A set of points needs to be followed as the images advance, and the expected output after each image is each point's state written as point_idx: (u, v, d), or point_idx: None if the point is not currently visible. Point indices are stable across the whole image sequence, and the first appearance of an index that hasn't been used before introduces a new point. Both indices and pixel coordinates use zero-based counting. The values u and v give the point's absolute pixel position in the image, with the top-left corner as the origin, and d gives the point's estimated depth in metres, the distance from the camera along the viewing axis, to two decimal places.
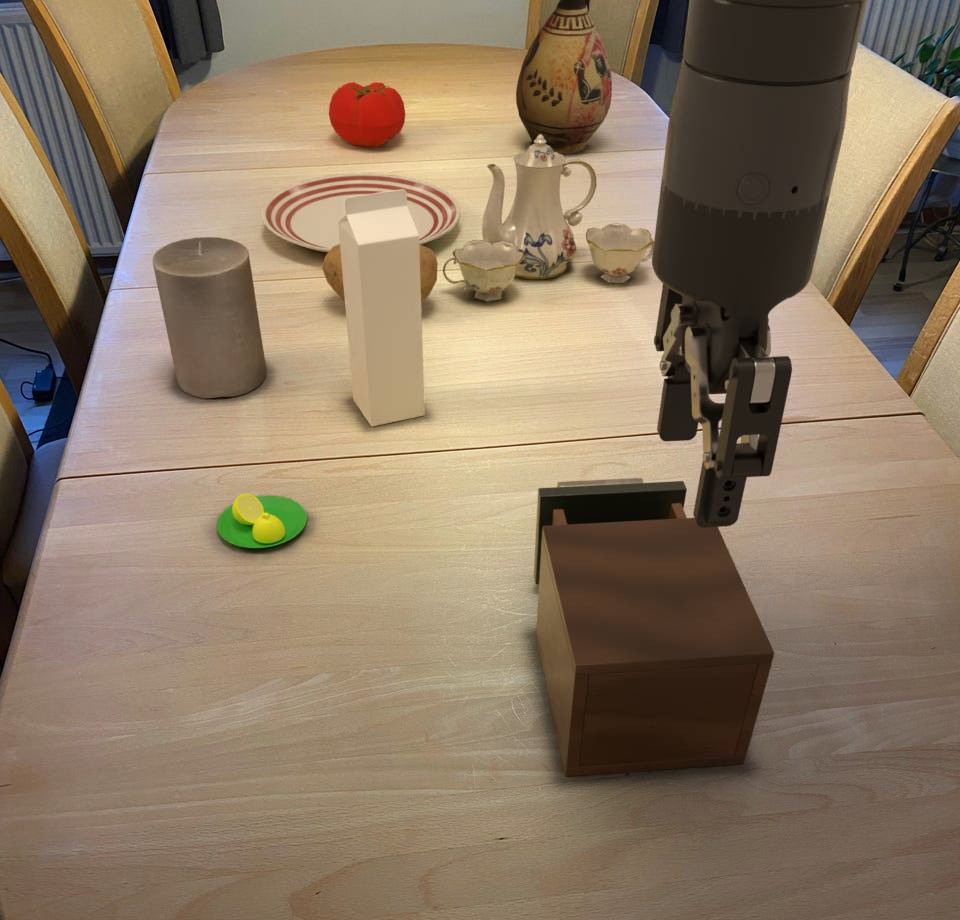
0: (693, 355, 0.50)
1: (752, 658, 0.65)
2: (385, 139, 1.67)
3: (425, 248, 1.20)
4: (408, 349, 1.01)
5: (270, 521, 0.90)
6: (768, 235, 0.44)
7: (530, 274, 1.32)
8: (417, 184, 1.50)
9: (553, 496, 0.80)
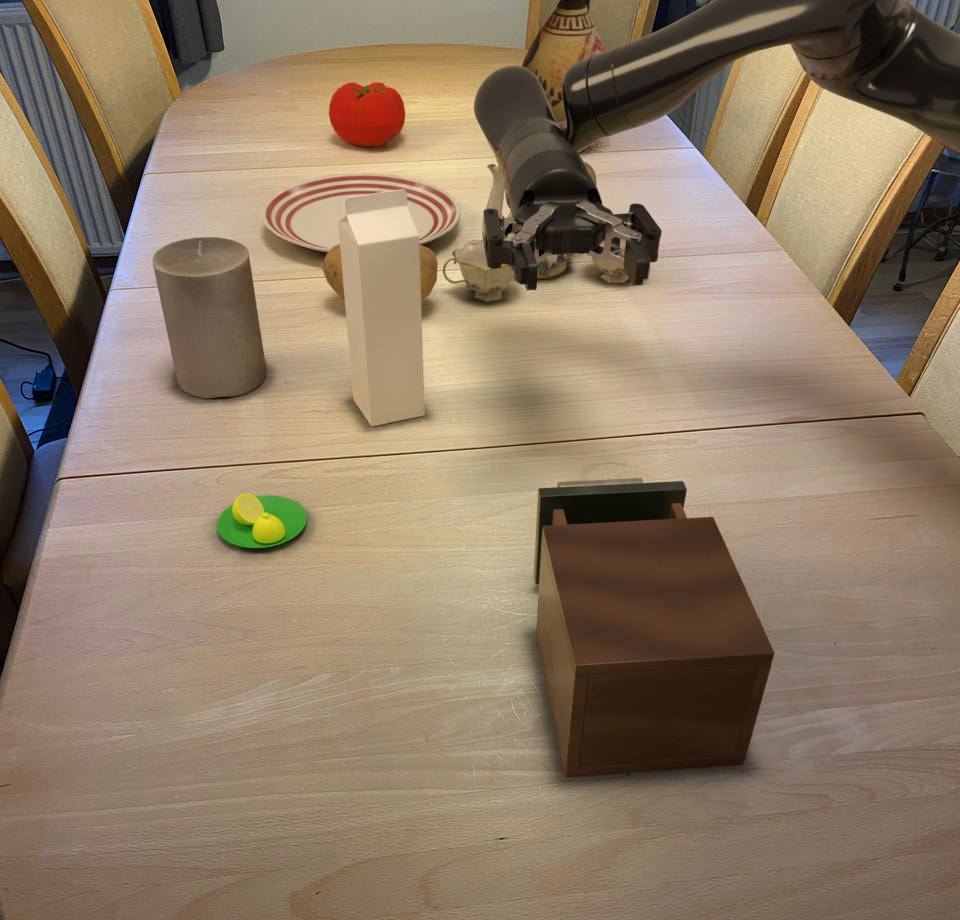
0: None
1: (752, 658, 0.65)
2: (385, 139, 1.67)
3: (425, 248, 1.21)
4: (408, 349, 1.01)
5: (270, 521, 0.90)
6: (510, 198, 0.90)
7: None
8: (417, 184, 1.50)
9: (553, 496, 0.80)
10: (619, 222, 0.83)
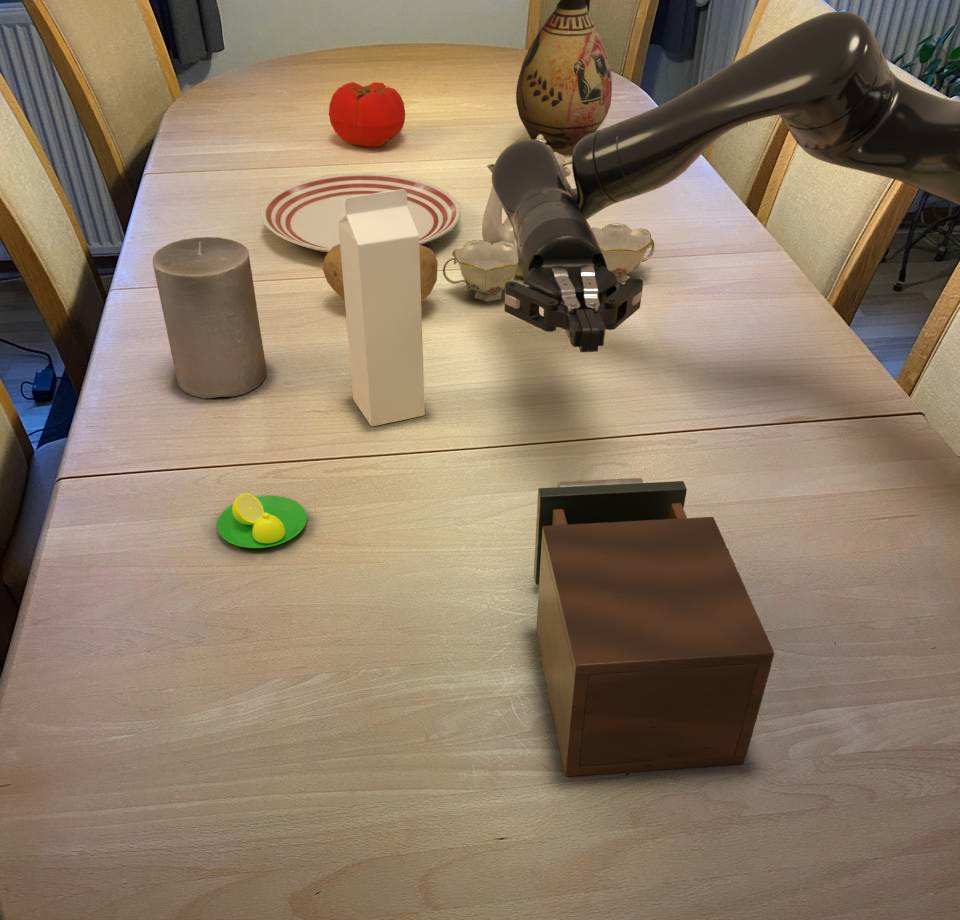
0: None
1: (752, 658, 0.65)
2: (385, 139, 1.67)
3: (425, 248, 1.21)
4: (408, 349, 1.01)
5: (270, 521, 0.90)
6: (521, 261, 0.96)
7: None
8: (417, 184, 1.50)
9: (553, 496, 0.80)
10: (594, 291, 0.88)
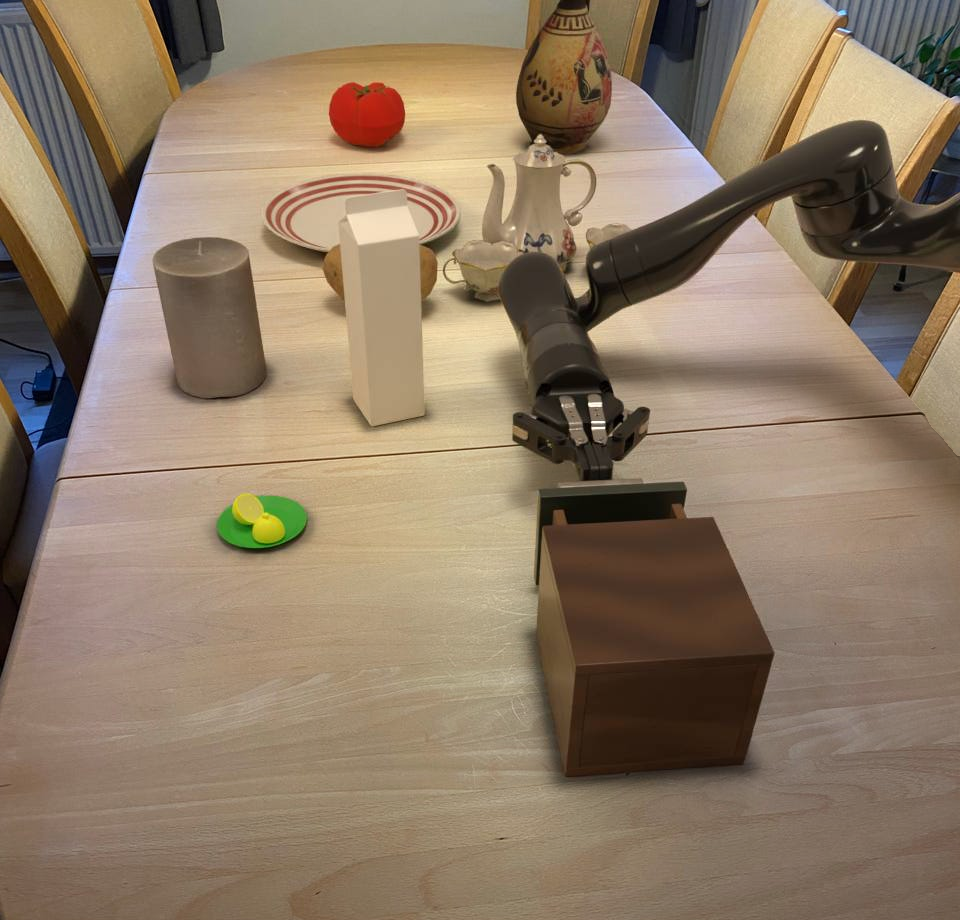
0: None
1: (752, 658, 0.65)
2: (385, 139, 1.67)
3: (425, 248, 1.21)
4: (408, 349, 1.01)
5: (270, 521, 0.90)
6: (528, 385, 0.97)
7: None
8: (417, 184, 1.50)
9: (553, 497, 0.80)
10: (601, 424, 0.89)
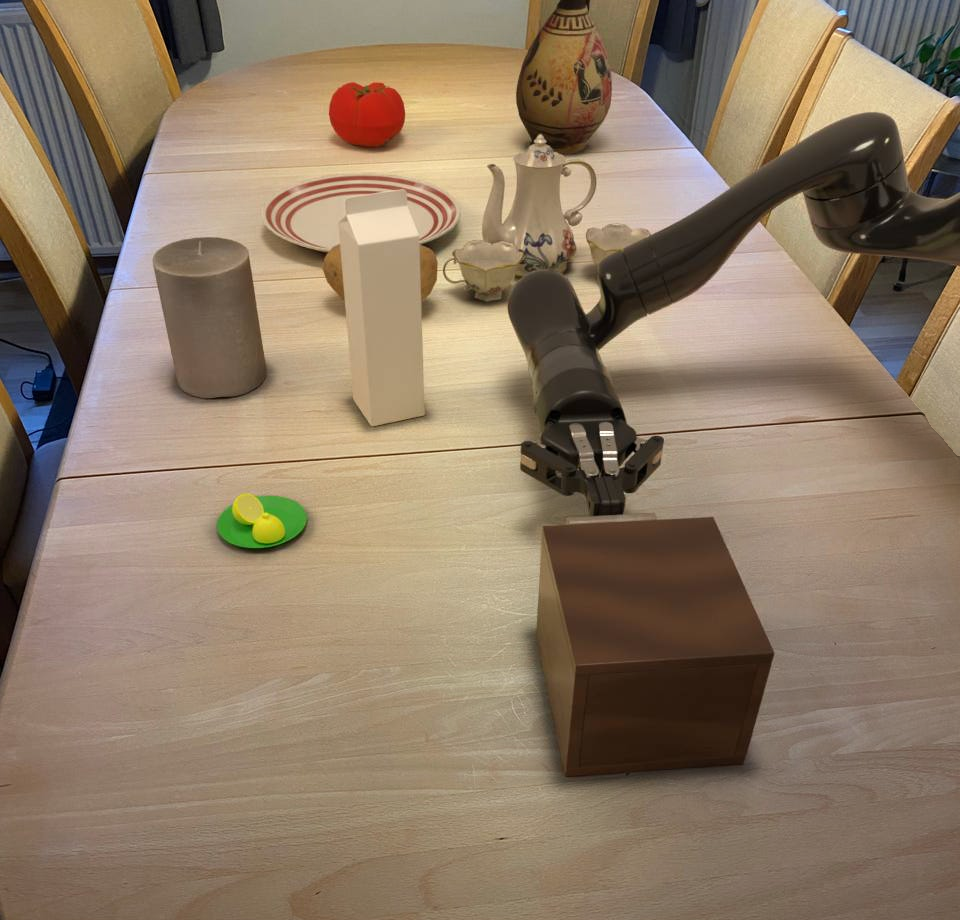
0: None
1: (752, 658, 0.65)
2: (385, 139, 1.67)
3: (425, 248, 1.21)
4: (408, 349, 1.01)
5: (270, 521, 0.90)
6: (537, 410, 0.93)
7: None
8: (417, 184, 1.50)
9: None
10: (613, 454, 0.85)
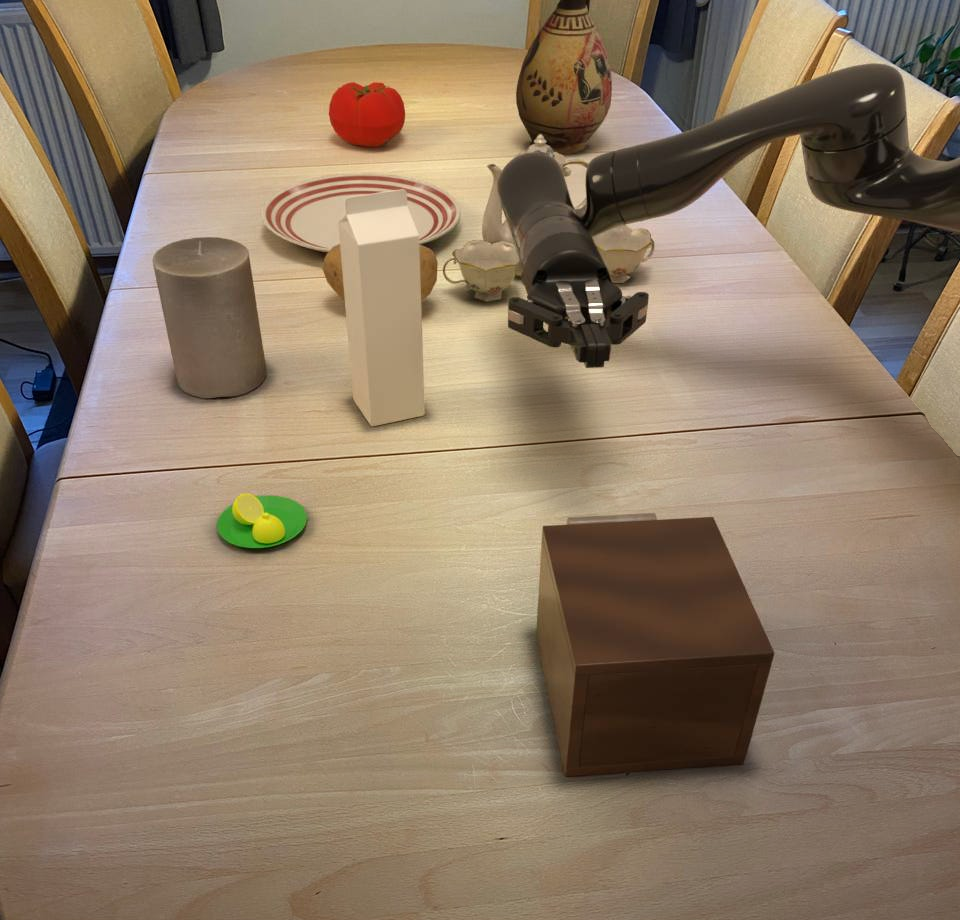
0: None
1: (752, 658, 0.65)
2: (385, 139, 1.67)
3: (425, 248, 1.21)
4: (408, 349, 1.01)
5: (270, 521, 0.90)
6: (524, 276, 0.95)
7: None
8: (417, 184, 1.50)
9: None
10: (599, 306, 0.87)
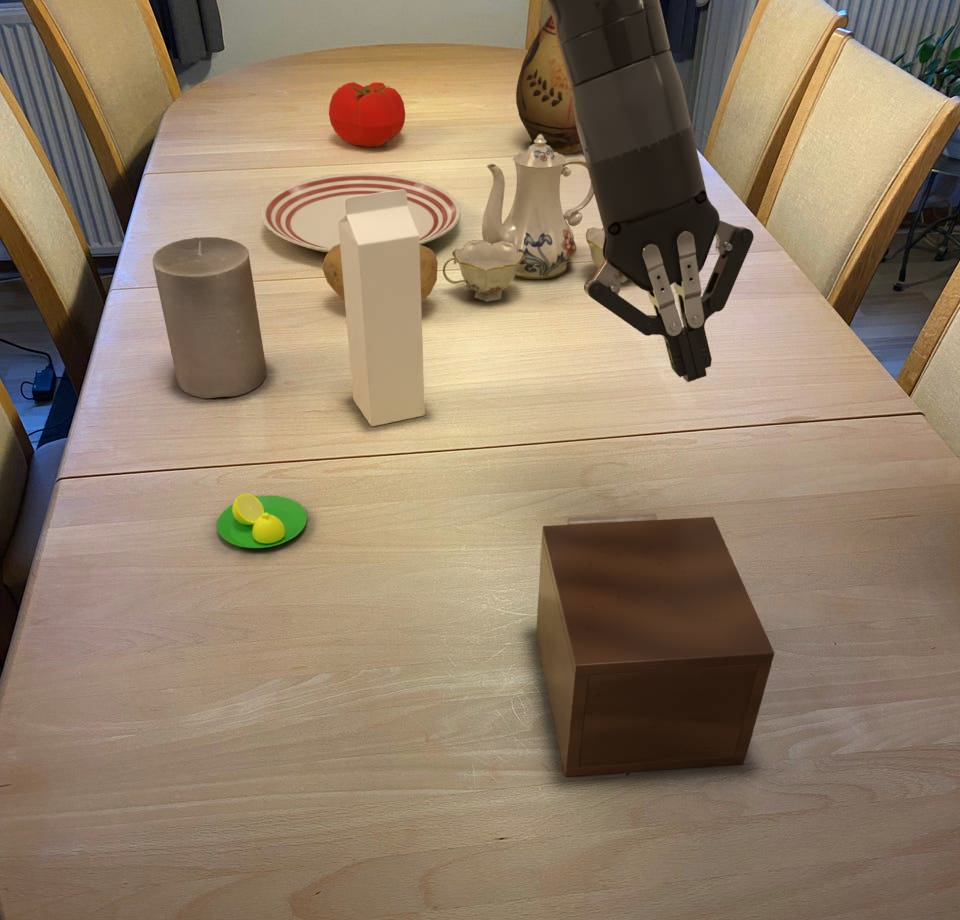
0: None
1: (752, 658, 0.65)
2: (385, 139, 1.67)
3: (425, 248, 1.21)
4: (408, 349, 1.01)
5: (270, 521, 0.90)
6: (590, 177, 0.72)
7: (530, 274, 1.32)
8: (417, 184, 1.50)
9: None
10: (696, 294, 0.75)
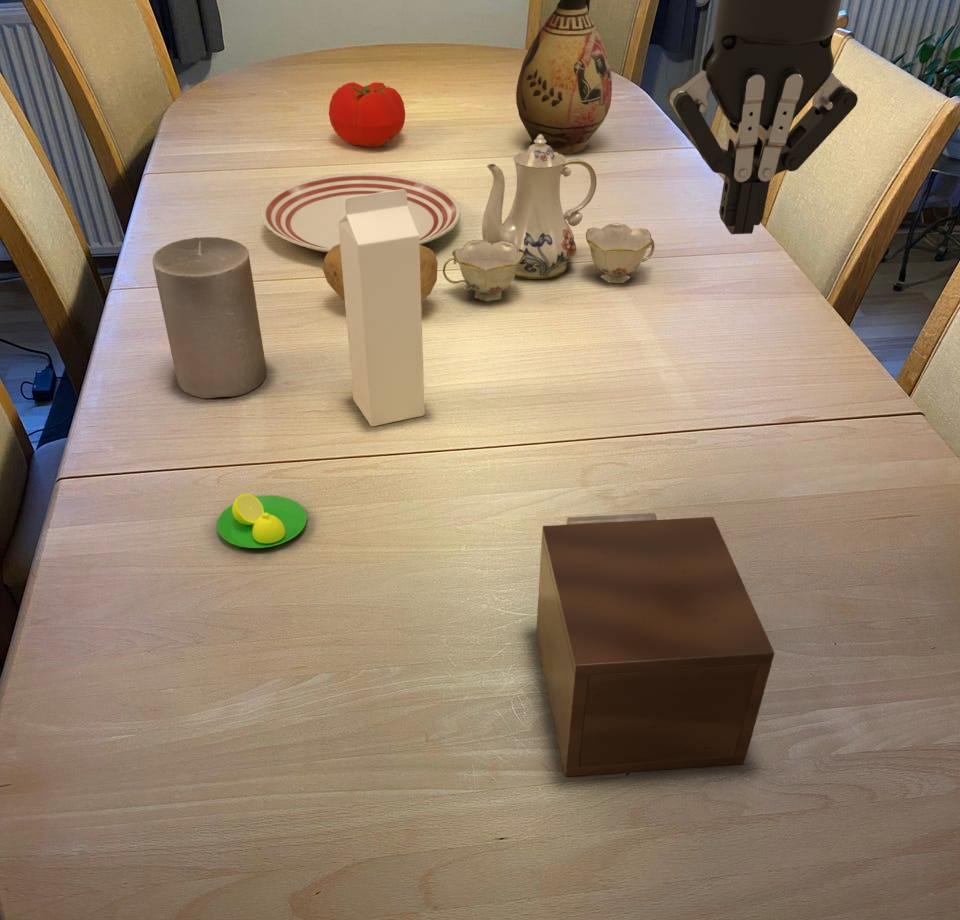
0: None
1: (752, 658, 0.65)
2: (385, 139, 1.67)
3: (425, 248, 1.21)
4: (408, 349, 1.01)
5: (270, 521, 0.90)
6: None
7: (530, 274, 1.32)
8: (417, 184, 1.50)
9: None
10: (779, 145, 0.69)
